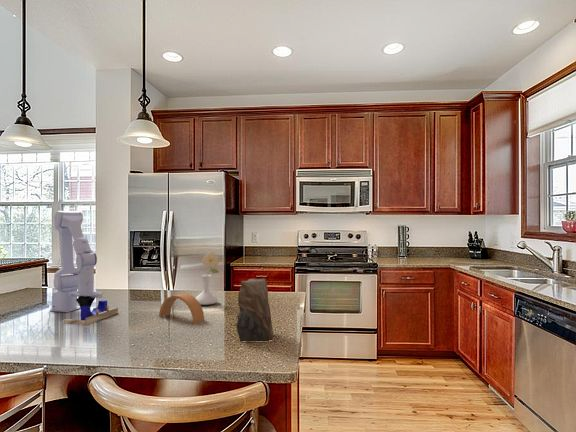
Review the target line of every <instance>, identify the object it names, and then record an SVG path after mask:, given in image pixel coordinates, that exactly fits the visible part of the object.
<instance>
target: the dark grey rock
mask: <svg viewBox="0 0 576 432" xmlns="http://www.w3.org/2000/svg"><path fill="white" fill-rule="evenodd" d="M240 285H241V286H240V288H239V291H238V297H237V303H238V304H237V305H238V308H239V312H238V314H237V315H236V318H237V320H236V321H237V322H236V329H237V335H238V337H239V342H240V341H269V340H273V341H274V330H273V324H272V323H273V322H272V316H271V315H272V314H271V309H270V303H269V289H268V283H267V279H266V278H265V277H263V278H255V277H253V278H249V279H248V280H241V281H240Z"/></svg>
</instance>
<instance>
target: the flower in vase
mask: <svg viewBox="0 0 576 432" xmlns="http://www.w3.org/2000/svg"><path fill="white" fill-rule="evenodd" d="M201 262H202V264H203V265H202V266H203V267H204V268H205V267H206V268H208V269H210V270H209V272H208V271H207V270H206V269H203V268H201V271H204V272H206V273H207V274H202V275H200V277H201V279H202V281H203V290H202V291H201V292H200V293H199V294H198V295H196V296H195V298H196V299H197V300H198V302H199V303H200V305H201V306H202V305H203V306H206V305H207V306H208V305H214V304H216V303H217V302H218V301H219V300H218V297H217V296H216V295H214V294H213V293H212V292H211V291H210V290H209V282H210V279H211V277H212V274H218V273H219V270H218V269H217V268H215V267H217V266H218V264H219V262H220V257H219V254H216V253H213V252H208V253H207V254H205V255H204V256H203V257H202V260H201ZM210 272H211V273H212V274H210Z"/></svg>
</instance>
